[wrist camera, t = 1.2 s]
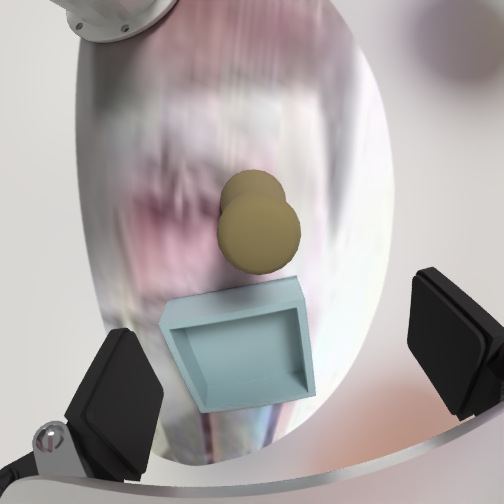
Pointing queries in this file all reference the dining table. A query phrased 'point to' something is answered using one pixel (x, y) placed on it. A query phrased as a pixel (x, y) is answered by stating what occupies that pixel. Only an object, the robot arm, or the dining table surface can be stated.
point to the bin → (242, 345)
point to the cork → (257, 224)
